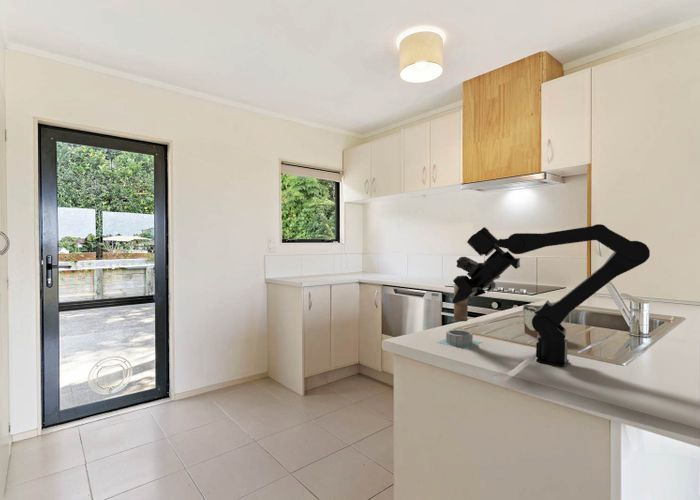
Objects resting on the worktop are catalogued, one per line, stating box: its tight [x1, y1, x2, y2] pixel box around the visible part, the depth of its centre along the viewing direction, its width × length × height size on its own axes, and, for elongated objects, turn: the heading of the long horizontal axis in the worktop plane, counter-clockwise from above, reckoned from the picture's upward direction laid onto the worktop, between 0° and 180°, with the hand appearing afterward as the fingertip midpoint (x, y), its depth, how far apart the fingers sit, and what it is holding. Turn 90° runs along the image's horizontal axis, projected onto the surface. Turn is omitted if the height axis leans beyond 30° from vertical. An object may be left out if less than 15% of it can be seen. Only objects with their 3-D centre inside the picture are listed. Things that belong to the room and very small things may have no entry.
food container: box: [522, 304, 543, 341], centre depth 123 cm, size 12×6×10 cm, turn 179°
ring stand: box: [436, 329, 482, 350], centre depth 110 cm, size 10×10×4 cm
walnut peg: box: [453, 283, 469, 322], centre depth 111 cm, size 4×4×11 cm
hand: (456, 301), depth 112 cm, fingers closed on walnut peg, 4 cm apart
